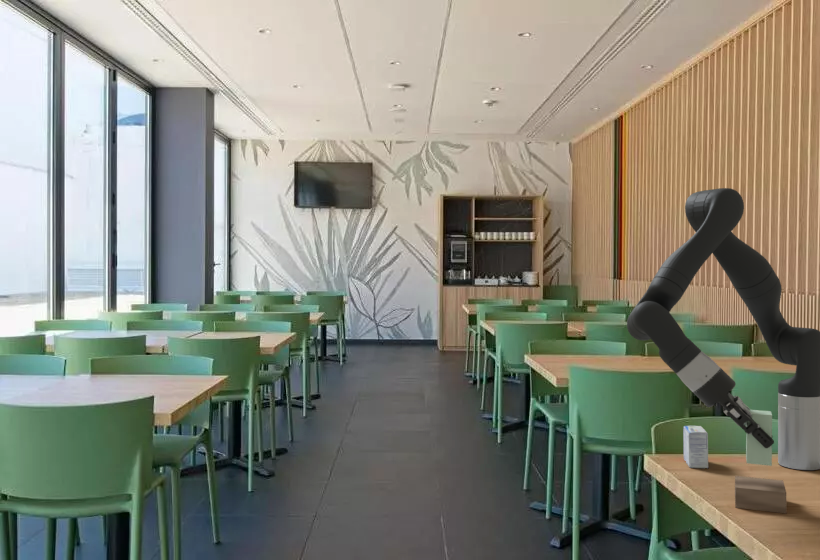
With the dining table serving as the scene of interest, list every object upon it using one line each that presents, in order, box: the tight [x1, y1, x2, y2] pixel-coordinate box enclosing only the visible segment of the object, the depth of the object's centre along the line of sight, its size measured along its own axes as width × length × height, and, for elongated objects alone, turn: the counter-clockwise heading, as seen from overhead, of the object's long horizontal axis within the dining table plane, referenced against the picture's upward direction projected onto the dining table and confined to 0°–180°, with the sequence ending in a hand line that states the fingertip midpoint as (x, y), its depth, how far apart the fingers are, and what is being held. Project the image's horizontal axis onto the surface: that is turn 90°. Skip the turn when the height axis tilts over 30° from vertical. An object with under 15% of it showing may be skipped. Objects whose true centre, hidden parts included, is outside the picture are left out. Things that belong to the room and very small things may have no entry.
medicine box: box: [682, 425, 709, 469], centre depth 176 cm, size 8×4×9 cm, turn 168°
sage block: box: [745, 409, 773, 467], centre depth 146 cm, size 4×4×10 cm
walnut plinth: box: [734, 475, 787, 514], centre depth 146 cm, size 9×9×4 cm
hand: (769, 442), depth 145 cm, fingers closed on sage block, 4 cm apart
